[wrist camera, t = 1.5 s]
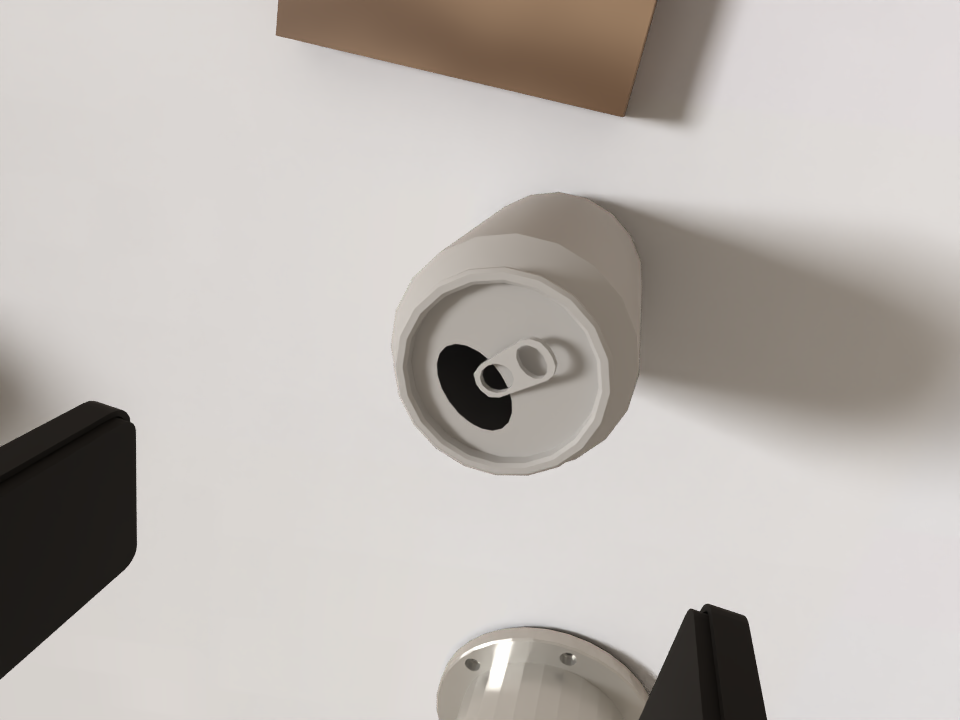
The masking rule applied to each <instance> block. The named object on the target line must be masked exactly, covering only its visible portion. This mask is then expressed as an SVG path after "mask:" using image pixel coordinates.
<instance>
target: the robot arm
mask: <svg viewBox="0 0 960 720" xmlns="http://www.w3.org/2000/svg"><path fill="white" fill-rule="evenodd" d="M136 548H137V512H136V430H135V426H134V424H133V423H131V422H130V417H129V415H128V414H127V413H126V412H125V411H123V410H120V409H117V408H114V407H111V406H108V405H105V404H102V403H99V402H96V401H88V402H86V403H83V404H81V405H79V406H77V407H75V408H73V409H72V410H70V411H68V412H66V413H64V414H62V415H60V416H58V417H56V418H54V419H53V420H51V421H49V422H47V423H45V424H43V425H41V426H39V427H37V428H35V429H34V430H32V431H30V432H28V433H26V434H24V435H22V436H20V437H18V438H16V439H15V440H13V441H11V442H9V443H7V444H5V445H3V446H1V447H0V679H1V678H3V677H4V676H5V675H6V674H7V673H8V672H9V671H10V670H12V669H13V668H14V667H15V666H16V665H17V664H18V663H20V662H21V661H22V660H23V659H24V658H25V657H26V656H27V655H29V654H30V653H31V652H32V651H33V650H34V649H35V648H36V647H38V646H39V645H40V644H41V643H42V642H43V641H44V640H46V639H47V638H48V637H49V636H50V635H51V634H52V633H53V632H55V631H56V630H57V629H58V628H59V627H60V626H61V625H62V624H64V623H65V622H66V621H67V620H68V619H69V618H70V617H72V616H73V615H74V614H75V613H76V612H77V611H78V610H79V609H81V608H82V607H83V606H84V605H85V604H86V603H87V602H88V601H90V600H91V599H92V598H93V597H94V596H95V595H96V594H98V593H99V592H100V591H101V590H102V589H103V588H104V587H105V586H107V585H108V584H109V583H110V582H111V581H112V580H113V579H114V578H116V577H117V576H118V575H119V574H120V573H121V572H122V571H124V570H125V569H126V568H127V566H128V565H129V564H130V563H131V561H132V559H133V557H134V555H135V552H136ZM437 713H438V718H439V720H767V717H766V711H765V706H764V701H763V696H762V691H761V685H760V680H759V675H758V670H757V665H756V659H755V654H754V649H753V644H752V638H751V633H750V628H749V623H748V620H747V618H746V617H745V616H744V615H741V614H738V613H735V612H732V611H729V610H726V609H723V608H720V607H717V606H713V605H710V604H705V605H704V606H703V607H702V609H701V611H697V610H694V609H689V610H688V611H687V613H686V615H685V617H684V620H683V622H682V624H681V626H680V628H679V631H678V633H677V635H676V637H675V640H674V642H673V644H672V646H671V649H670V651H669V653H668V655H667V658H666V660H665V662H664V664H663V666H662V669H661V671H660V673H659V675H658V678H657V680H656V682H655V684H654V687H653V689H652V691H651V693H650V695H648V694H647V692H646V690H645V689H644V687H643V686H642V684H641V682H640V681H639V680H638V679H637V678H636V677H635V676H634V675H633V674H632V672H631V671H630V670H629V669H628V668H627V667H626V666H625V665H623V664H622V663H621V662H619V661H618V660H617V659H616V658H614V657H613V656H612V655H611V654H609V653H608V652H606V651H604V650H602V649H601V648H599V647H597V646H595V645H593V644H592V643H590V642H587V641H585V640H582V639H580V638H577V637H575V636H572V635H570V634H566V633H562V632H557V631H553V630H549V629H541V628H529V627H520V628H507V629H501V630H497V631H493V632H489V633H486V634H483V635H481V636H479V637H477V638H475V639H473V640H471V641H469V642H468V643H467V644H465V645H464V646H463V647H462V648H460V649H459V650H458V651H457V652H456V653H455V654H454V656H453V657H452V658H451V659H450V661H449V662H448V664H447V666H446V668H445V671H444V673H443V676H442V678H441V681H440V684H439V688H438V692H437Z"/></svg>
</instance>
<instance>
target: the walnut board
mask: <svg viewBox="0 0 960 720" xmlns="http://www.w3.org/2000/svg"><path fill="white" fill-rule="evenodd" d="M656 4H657V0H278V13H277V27H276V35H277V36H281V37H285V38H289V39H294V40H298V41H302V42H306V43H311V44H315V45H319V46H323V47H328V48H332V49H336V50H340V51H344V52H349V53H353V54H357V55H361V56H366V57H370V58H374V59H378V60H383V61H387V62H391V63H395V64H400V65H404V66H408V67H412V68H416V69H421V70H425V71H429V72H433V73H438V74H442V75H446V76H450V77H455V78H459V79H463V80H467V81H472V82H476V83H480V84H484V85H488V86H493V87H497V88H501V89H505V90H510V91H514V92H518V93H522V94H527V95H531V96H535V97H539V98H544V99H548V100H552V101H556V102H560V103H565V104H569V105H573V106H577V107H582V108H586V109H590V110H594V111H599V112H603V113H607V114H611V115H616V116H620V117H624V116H625V113H626V109H627V106H628V102H629V99H630V95H631V92H632V88H633V85H634V81H635V78H636V74H637V70H638V67H639V63H640V60H641V56H642V53H643V49H644V46H645V42H646V39H647V35H648V32H649V28H650V25H651V21H652V18H653V14H654V11H655V7H656Z"/></svg>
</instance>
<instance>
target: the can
mask: <svg viewBox="0 0 960 720" xmlns="http://www.w3.org/2000/svg"><path fill="white" fill-rule="evenodd" d="M641 305H642V276H641V261H640V258H639V256H638V253H637V251H636V248H635V246H634V243H633V240H632V238H631V236H630V234H629V233H628V232H627V231H626V230H625V228H624V227H623V226H622V225H621V224H620V222H619V221H618V220H617V219H616V218H615V217H614V215H613V214H612V213H610V212H609V211H607V210H605V209H604V208H602V207H600V206H599V205H597V204H595V203H594V202H592V201H590V200H589V199H587V198H583V197H578V196H574V195H569V194H565V193H561V192H555V193H545V194H535V195H529V196H527V197H525V198H523V199H520V200H518V201H516V202H514V203H512V204H509V205H507V206H505V207H504V208H502V209H501V210H499V211H498V212H496V213H495V214H494V215H492V216H491V217H489V218H488V219H487V220H485V221H484V222H482V223H481V224H479V225H478V226H477V227H475V228H474V229H472V230H471V231H470V232H468V233H467V234H465V235H464V236H462V237H461V238H460V239H458V240H457V241H455V242H454V243H452V244H451V245H450V246H448V247H447V248H445V249H444V250H443V251H441V252H440V253H439V254H438V255H436V256H435V257H434V258H433V259H432V260H431V261H430V262H429V263H428V264H427V265H426V266H425V267H424V268H423V269H422V270H421V271H419V272H418V273H417V274H416V275H415V276H414V277H413V278H412V280H411V282H410V284H409V286H408V288H407V290H406V292H405V293H404V295H403V297H402V299H401V301H400V303H399V305H398V307H397V309H396V313H395V320H394V327H393V334H392V341H391V349H392V355H393V360H394V370H395V376H396V382H397V387H398V393H399V397H400V399H401V401H402V403H403V405H404V407H405V408H406V410H407V412H408V414H409V416H410V418H411V420H412V422H413V424H414V425H415V426H416V428H417V429H418V430H419V431H420V432H421V433H422V434H423V435H424V436H425V437H426V438H427V439H428V440H429V441H430V443H431V444H432V445H433V446H434V447H435V448H436V449H438V450H439V451H441V452H443V453H444V454H446V455H447V456H449V457H451V458H452V459H454V460H456V461H457V462H459V463H460V464H462V465H464V466H467V467H470V468H474V469H477V470H480V471H484V472H487V473H490V474H494V475H532V474H535V473H539V472H542V471H546V470H549V469H553V468H556V467H559V466H561V465H562V464H564V463H565V462H568V461H571V460H575V459H577V458H578V457H580V456H581V455H583V454H584V453H586V452H587V451H589V450H590V449H592V448H593V447H595V446H596V445H598V444H599V443H601V442H602V441H604V440H605V439H606V438H607V437H608V435H609V434H610V433H611V431H612V430H613V429H614V427H615V426H616V425H617V424H618V422H619V421H620V420H621V418H622V417H623V416H624V414H625V413H626V412H627V410H628V407H629V404H630V401H631V398H632V395H633V391H634V388H635V385H636V382H637V379H638V375H639V356H640V330H641Z"/></svg>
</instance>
